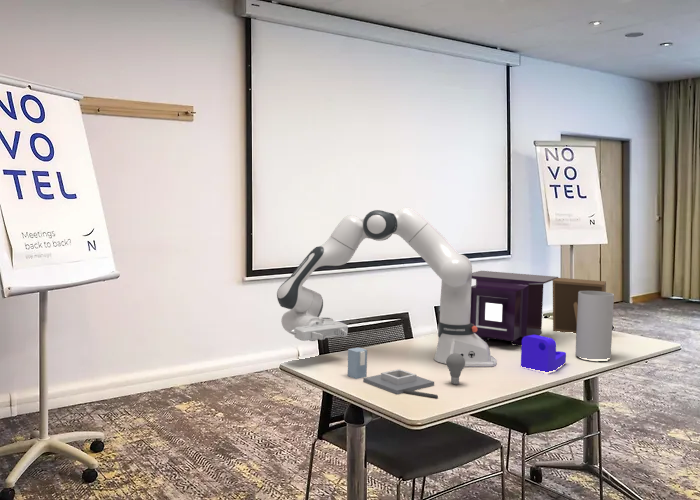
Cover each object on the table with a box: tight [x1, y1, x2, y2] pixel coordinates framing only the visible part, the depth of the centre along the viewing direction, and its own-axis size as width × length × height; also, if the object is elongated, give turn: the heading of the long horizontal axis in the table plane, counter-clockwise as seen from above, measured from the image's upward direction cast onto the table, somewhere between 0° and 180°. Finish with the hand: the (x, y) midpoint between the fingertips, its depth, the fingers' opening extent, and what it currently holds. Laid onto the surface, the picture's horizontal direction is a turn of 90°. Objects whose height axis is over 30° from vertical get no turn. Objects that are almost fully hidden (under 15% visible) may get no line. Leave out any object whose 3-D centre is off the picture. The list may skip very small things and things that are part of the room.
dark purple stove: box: [470, 270, 559, 346], centre depth 263 cm, size 35×35×27 cm
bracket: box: [520, 335, 567, 372], centre depth 222 cm, size 18×11×12 cm, turn 128°
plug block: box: [347, 346, 368, 380], centre depth 205 cm, size 4×5×9 cm
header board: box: [363, 368, 435, 395], centre depth 198 cm, size 16×16×3 cm
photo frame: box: [552, 277, 607, 334], centre depth 276 cm, size 15×22×25 cm
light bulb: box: [446, 353, 465, 385], centre depth 199 cm, size 6×6×10 cm
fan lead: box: [403, 390, 439, 399], centre depth 187 cm, size 11×1×1 cm, turn 63°
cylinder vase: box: [575, 291, 615, 359], centre depth 235 cm, size 12×12×25 cm
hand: (334, 335), depth 214 cm, fingers open, 8 cm apart
